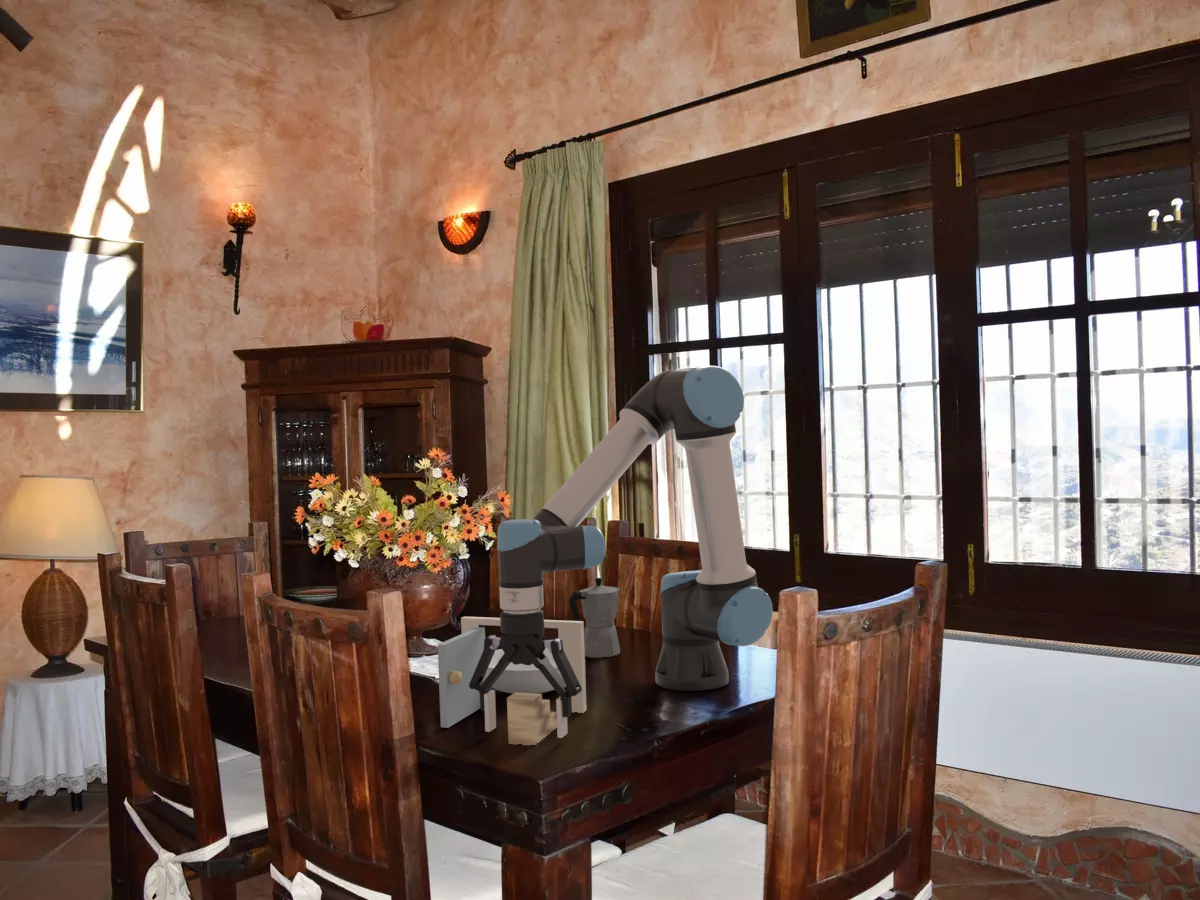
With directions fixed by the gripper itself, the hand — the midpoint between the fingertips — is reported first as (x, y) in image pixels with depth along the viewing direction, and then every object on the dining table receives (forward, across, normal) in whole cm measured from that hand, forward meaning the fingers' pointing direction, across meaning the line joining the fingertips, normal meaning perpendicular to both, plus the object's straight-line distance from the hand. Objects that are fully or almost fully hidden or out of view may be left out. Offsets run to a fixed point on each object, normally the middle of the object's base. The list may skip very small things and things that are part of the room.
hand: (526, 732), depth 168 cm
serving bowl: (+2, -13, +30) cm, 33 cm away
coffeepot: (+1, -10, +62) cm, 63 cm away
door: (+1, -16, +10) cm, 19 cm away
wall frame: (+1, -8, +18) cm, 20 cm away
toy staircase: (+1, 0, +2) cm, 3 cm away
